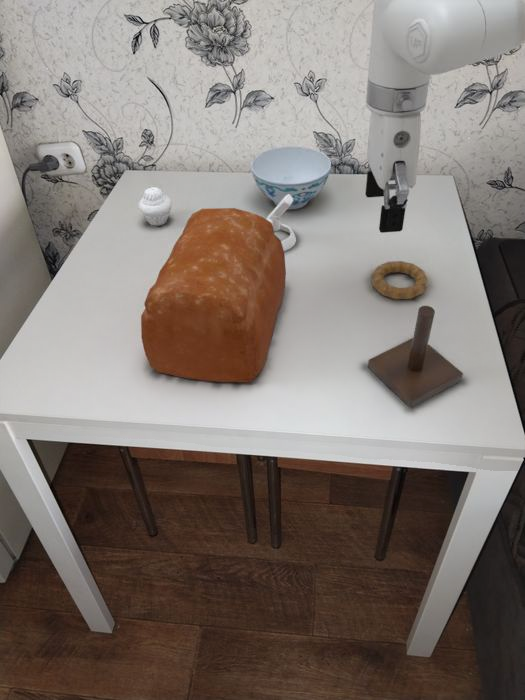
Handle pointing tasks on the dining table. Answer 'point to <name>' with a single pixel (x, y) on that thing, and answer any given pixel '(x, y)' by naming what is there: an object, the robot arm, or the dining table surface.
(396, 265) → the ring
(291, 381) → the dining table surface
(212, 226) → the bread
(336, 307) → the dining table surface
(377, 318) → the dining table surface
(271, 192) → the chinaware
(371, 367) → the stand
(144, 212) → the muffin
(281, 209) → the hook
